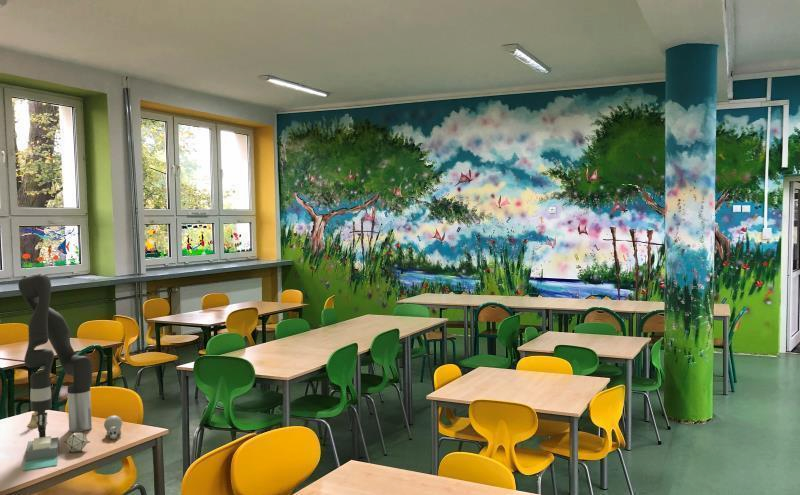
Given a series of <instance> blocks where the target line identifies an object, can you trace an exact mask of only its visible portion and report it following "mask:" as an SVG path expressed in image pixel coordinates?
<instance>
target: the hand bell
mask: <svg viewBox="0 0 800 495" xmlns="http://www.w3.org/2000/svg"><path fill="white" fill-rule="evenodd" d="M37 413H38V412H34V411H33V412H32V414H31V418H30V421H29V423H27V427H28V428H38V426H37V420H36V414H37ZM48 422H49V421H47V424H46V425H48Z"/></svg>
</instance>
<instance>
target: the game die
mask: <svg viewBox="0 0 800 495" xmlns="http://www.w3.org/2000/svg"><path fill="white" fill-rule="evenodd" d="M71 432H72V433H71V435H70V436H69V437H68V438H67V440H66V441H65V440H63V443H66V446H67V447H68V449H69V453H70V454H71V452H80V453H83V449H84V448H85V447H86V445H87V444H89V443H91V441H89V440H88V439H87V437H86V435H85V433H86V430H85V431H82V432H73V431H71Z"/></svg>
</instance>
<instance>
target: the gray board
mask: <svg viewBox="0 0 800 495" xmlns="http://www.w3.org/2000/svg"><path fill="white" fill-rule="evenodd" d="M59 439H60V438H59V436H58V437H51V446H50V448H43V449H36V450H33V442H34V440H30V441H27V443H26V444H27V445H26V448H25V452H24V453H25V454H24V455H25V462H27V461H34V460H40V459H47V458H53V457H57V458H59V457H58V456H59V448H60V444H59V442H60V441H59Z"/></svg>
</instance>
